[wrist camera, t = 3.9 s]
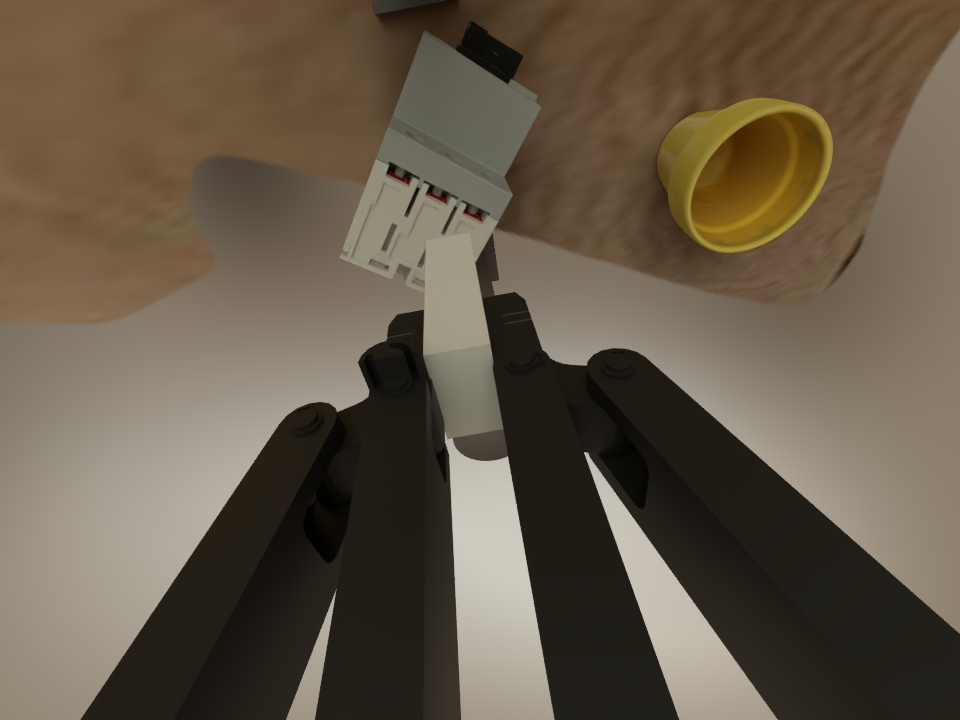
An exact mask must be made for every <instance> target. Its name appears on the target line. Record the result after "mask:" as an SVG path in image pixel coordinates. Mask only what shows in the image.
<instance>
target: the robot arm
mask: <svg viewBox="0 0 960 720" xmlns="http://www.w3.org/2000/svg"><path fill="white" fill-rule="evenodd" d="M387 337H388V338H387V341H385V342H381V343H379V344H377V345H375V346H373V347H371V348H369V349H368V350H367V351H366V352H365V353H364V354H363V355H362V356H361V358H360V360H359V362H358V364H359V366H360V369H361V371H362V373H363V376H364V378H365V381H366V383H367V385H368V388H369V390H370V391H369V397H368V398H366V399H365V400H364V401H362V402H360V403H358V404H356V405H354V406H351V407H349V408H346V409H344V410H341V411H339V412H337V411H336V409H335V407H333V406H332V405H330V404H329V403H323V402H317V403H310V404H307V405H304V406H302V407H300V408H298V409H296V410H294V411H293V412H291V413H290V414H288V415H287V416H286V417H285V418H284V420H283V421H282V422H281V423H280V424H279V426H278V427H277V429H276V430H275V431H274V433H273V434H272V436H271V438H270V439H269V441H268V442H267V443H266V445H265V446H264V448H263V449H262V451H261V452H260V454H259V455H258V457H257V459H256V460H255V461H254V463H253V464H252V466H251V467H250V469H249V470H248V472H247V473H246V475H245V476H244V478H243V479H242V481H241V482H240V484H239V485H238V486H237V488H236V490H235V491H234V493H233V494H232V495H231V497H230V498H229V500H228V501H227V503H226V504H225V506H224V507H223V509H222V510H221V512H220V513H219V515H218V516H217V518H216V519H215V521H214V522H213V524H212V525H211V527H210V528H209V530H208V531H207V533H206V534H205V536H204V537H203V539H202V540H201V541H200V543H199V545H198V546H197V547H196V549H195V550H194V552H193V554H192V555H191V556H190V558H189V559H188V561H187V562H186V564H185V565H184V567H183V568H182V570H181V571H180V573H179V574H178V576H177V577H176V579H175V580H174V582H173V583H172V585H171V586H170V588H169V589H168V591H167V592H166V594H165V595H164V597H163V598H162V600H161V601H160V602H159V604H158V605H157V607H156V608H155V610H154V612H153V613H152V614H151V616H150V617H149V619H148V620H147V622H146V623H145V625H144V626H143V628H142V629H141V631H140V632H139V634H138V635H137V637H136V638H135V640H134V641H133V643H132V644H131V646H130V647H129V649H128V650H127V651H126V653H125V655H124V656H123V657H122V659H121V661H120V662H119V663H118V665H117V666H116V668H115V669H114V671H113V672H112V674H111V675H110V677H109V678H108V680H107V681H106V683H105V684H104V686H103V687H102V689H101V690H100V692H99V693H98V695H97V696H96V698H95V699H94V701H93V702H92V704H91V705H90V706H89V708H88V709H87V711H86V712H85V714H84V715H83V717H82V718H81V720H286V718H287V715H288V713H289V710H290V708H291V705H292V703H293V700H294V697H295V695H296V692H297V690H298V687H299V684H300V682H301V679H302V676H303V674H304V671H305V669H306V666H307V664H308V661H309V658H310V656H311V653H312V651H313V648H314V645H315V643H316V640H317V638H318V635H319V632H320V630H321V627H322V625H323V622H324V620H325V617H326V614H327V612H328V609H329V607H330V604H331V601H332V599H333V596H334V594H335V591H336V597H335V603H334V608H333V614H332V621H331V626H330V632H329V638H328V644H327V651H326V657H325V662H324V669H323V674H322V681H321V687H320V693H319V699H318V705H317V711H316V717H315V720H461V711H460V710H461V709H460V686H459V667H458V666H459V664H458V642H457V621H456V598H455V577H454V555H453V533H452V514H451V513H452V512H451V489H450V467H449V454H448V450H447V447H446V444H445V432H446V435H447V438H448V439H450V438H455V437H461V436H467V435H473V434H479V433H484V432H490V431H496V430H502V429H503V430H504V436H505V441H506V447H507V453H508V458H509V464H510V469H511V475H512V481H513V487H514V492H515V498H516V504H517V509H518V515H519V520H520V526H521V532H522V537H523V543H524V549H525V555H526V560H527V566H528V572H529V577H530V583H531V588H532V594H533V599H534V606H535V611H536V617H537V623H538V628H539V634H540V640H541V645H542V650H543V657H544V662H545V668H546V674H547V679H548V685H549V691H550V696H551V702H552V707H553V713H554V719H555V720H679V718H678V715H677V712H676V709H675V707H674V704H673V701H672V698H671V695H670V692H669V690H668V687H667V684H666V681H665V678H664V676H663V673H662V670H661V667H660V665H659V662H658V659H657V656H656V653H655V651H654V648H653V645H652V642H651V639H650V637H649V634H648V631H647V628H646V625H645V622H644V620H643V617H642V614H641V611H640V608H639V606H638V603H637V600H636V597H635V594H634V592H633V589H632V586H631V583H630V580H629V578H628V575H627V572H626V569H625V566H624V564H623V561H622V558H621V555H620V552H619V550H618V547H617V544H616V541H615V538H614V536H613V533H612V530H611V527H610V525H609V522H608V519H607V516H606V513H605V510H604V508H603V505H602V502H601V499H600V496H599V494H598V491H597V488H596V485H595V483H594V480H593V477H592V474H591V471H590V469H589V465H588V463H587V460H586V457H585V454H584V452H588V453H589V455H590V458H591V459H592V461H593V462H594V464H595V465H596V466H597V468H598V469H599V471H600V472H601V473H602V475H603V476H604V477H605V479H606V480H607V482H608V483H609V485H610V486H611V487H612V488H613V490H614V492H615V493H616V494H617V496H618V497H619V499H620V500H621V501H622V503H623V504H624V505H625V507H626V508H627V510H628V511H629V512H630V514H631V515H632V517H633V518H634V519H635V521H636V522H637V524H638V525H639V526H640V528H641V529H642V531H643V532H644V533H645V535H646V536H647V538H648V539H649V540H650V542H651V543H652V544H653V546H654V547H655V549H656V550H657V551H658V553H659V554H660V556H661V557H662V558H663V560H664V561H665V563H666V564H667V565H668V567H669V568H670V570H671V571H672V573H673V574H674V575H675V577H676V578H677V580H678V581H679V582H680V584H681V585H682V586H683V588H684V589H685V591H686V592H687V593H688V595H689V596H690V598H691V599H692V600H693V602H694V603H695V605H696V606H697V607H698V609H699V610H700V612H701V613H702V614H703V616H704V617H705V618H706V620H707V621H708V623H709V624H710V626H711V627H712V628H713V630H714V631H715V633H716V634H717V635H718V637H719V638H720V639H721V641H722V642H723V644H724V645H725V646H726V648H727V649H728V651H729V652H730V654H731V655H732V656H733V658H734V659H735V661H736V662H737V663H738V664H739V666H740V667H741V669H742V670H743V672H744V673H745V674H746V676H747V677H748V679H749V680H750V681H751V683H752V684H753V685H754V687H755V688H756V690H757V691H758V693H759V694H760V695H761V697H762V698H763V700H764V701H765V702H766V704H767V705H768V706H769V708H770V709H771V711H772V712H773V713H774V715H775V716H776V718H777V719H778V720H960V634H959V633H958V632H957V631H956V630H954V629H953V628H952V627H951V626H950V625H949V624H948V623H946V622H945V621H944V620H943V619H942V618H941V617H940V616H939V615H938V614H936V613H935V612H934V611H933V610H932V609H931V608H930V607H928V606H927V605H926V604H925V603H924V602H923V601H922V600H920V599H919V598H918V597H917V596H916V595H915V594H914V593H913V592H911V591H910V590H909V589H908V588H907V587H906V586H905V585H903V584H902V583H901V582H900V581H899V580H898V579H897V578H896V577H894V576H893V575H892V574H891V573H890V572H889V571H888V570H886V569H885V568H884V567H883V566H882V565H881V564H880V563H878V562H877V561H876V560H875V559H874V558H873V557H872V556H871V555H869V554H868V553H867V552H866V551H865V550H864V549H863V548H861V547H860V546H859V545H858V544H857V543H856V542H855V541H853V540H852V539H851V538H850V537H849V536H848V535H847V534H845V533H844V532H843V531H842V530H841V529H840V528H839V527H838V526H836V525H835V524H834V523H833V522H832V521H831V520H829V518H827V517H826V516H825V515H824V514H823V513H822V512H820V511H819V510H818V509H817V508H816V507H815V506H814V505H813V504H811V503H810V502H809V501H808V500H807V499H806V498H805V497H803V496H802V495H801V494H800V493H799V492H798V491H797V490H796V489H794V488H793V487H792V486H791V485H790V484H789V483H788V482H786V481H785V480H784V479H783V478H782V477H781V476H780V475H779V474H777V473H776V472H775V471H774V470H773V469H772V468H771V467H769V466H768V465H767V464H766V463H765V462H764V461H763V460H761V459H760V458H759V457H758V456H757V455H756V454H755V453H754V452H752V451H751V450H750V449H749V448H748V447H747V446H746V445H744V444H743V443H742V442H741V441H740V440H738V438H736V437H735V436H734V435H733V434H732V433H731V432H730V431H729V430H727V429H726V428H725V427H724V426H723V425H722V424H721V423H719V422H718V421H717V420H716V419H715V418H714V417H713V416H712V415H710V414H709V413H708V412H707V411H706V410H704V408H702V407H701V406H700V405H699V404H698V403H697V402H696V401H694V400H693V399H692V398H691V397H690V396H689V395H688V394H687V393H685V392H684V391H683V390H682V389H681V388H680V387H679V386H678V385H676V384H675V383H674V382H673V381H672V380H671V379H669V378H668V377H667V376H666V375H665V374H664V373H662V371H660V370H659V369H658V368H657V367H656V366H655V365H653V364H652V363H651V362H650V361H649V360H648V359H647V358H646V357H644V356H642V355H641V354H639V353H637V352H635V351H631V350H628V349H617V348H612V349H608V350H603V351H600V352H598V353H596V354H594V355H593V356H592V357H591V358H590V359H589V361H588V363H587V366H581V365H580V366H579V365H568V364H562V363H559V362H556V361H554V360H552V359H550V357H549V356H548V355H547V353H546V352H545V351H543V350H542V348H541V345H540V342H539V339H538V336H537V333H536V330H535V327H534V324H533V322H532V320H531V316H530V313H529V311H528V307H527V304H526V301H525V299H523V298H522V297H521V296H519V295H518V294H517V293H515V292H513V293H507V294H502V295H496V296H491V297H485V298H482V297H481V292H480V286H479V281H478V276H477V270H476V265H475V260H474V254H473V249H472V244H471V239H470V233H464V234H459V235H453V236H448V237H442V238H437V239H432V240H426V256H425V297H424V310H420V311H415V312H410V313H404V314H398V315H397V316H396V317H395V318H394V320H393V321H392V322H391V324H389V327H388V334H387ZM444 428H445V429H444ZM336 589H337V590H336Z"/></svg>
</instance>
